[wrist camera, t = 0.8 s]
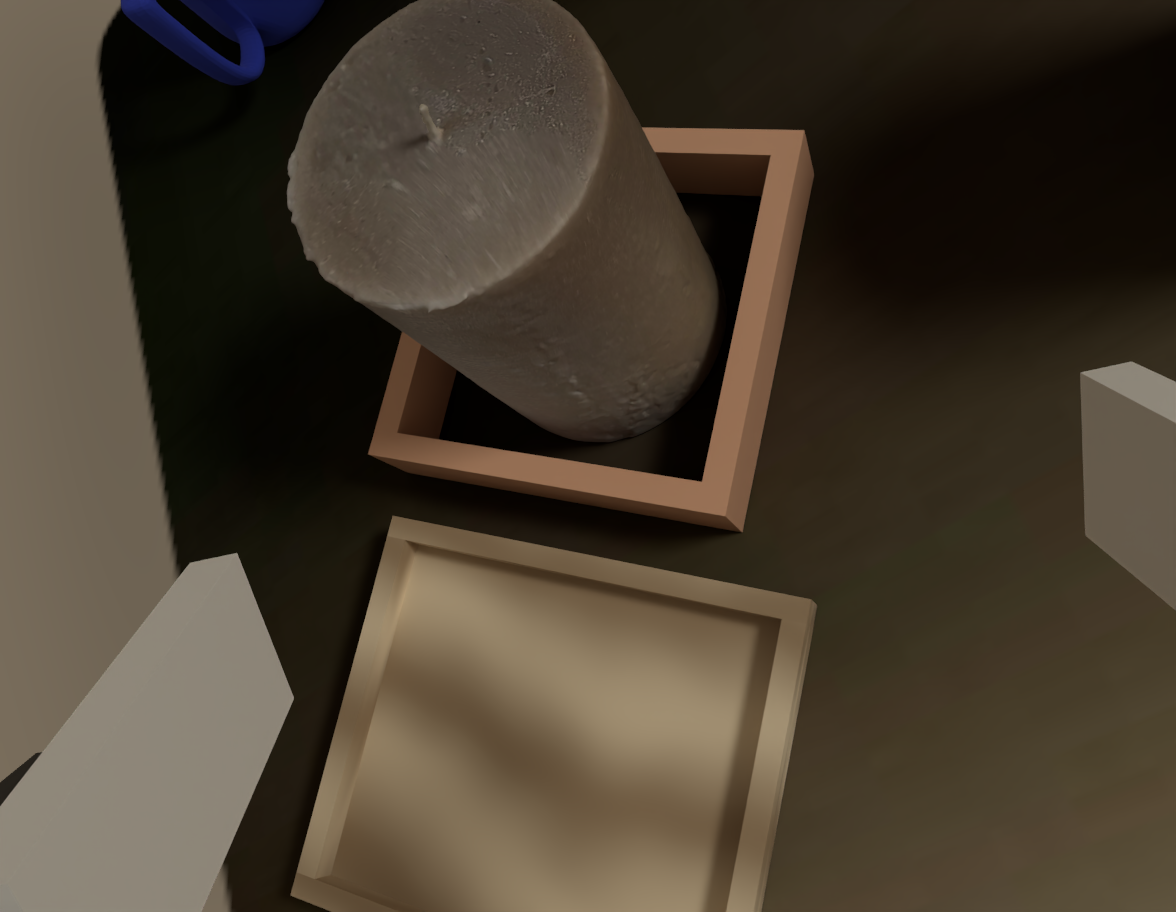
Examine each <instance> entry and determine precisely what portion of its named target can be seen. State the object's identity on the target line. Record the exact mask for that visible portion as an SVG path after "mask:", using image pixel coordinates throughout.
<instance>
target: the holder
mask: <svg viewBox="0 0 1176 912" xmlns="http://www.w3.org/2000/svg"><path fill="white" fill-rule="evenodd" d="M642 129H643V131H644V133H645V135H646V137H647V139H648V141H649V143H650V145H651V146H652V148H653V150H654V151H655V153H656V155H657V157H658V159H659V161H660V163H661V165H662V167H663V169H664V171H665V173H666V175H667V177H668V179H669V181H670V183H671V185H672V186H673V188H674V190H675V192H676V193H695V194H718V195H742V196H762V199H761V204H760V209H759V214H758V218H757V223H756V228H755V232H754V237H753V242H752V247H751V251H750V256H749V261H748V266H747V270H746V275H745V280H744V285H743V289H742V294H741V299H740V304H739V308H738V313H737V318H736V323H735V327H734V332H733V337H732V342H731V346H730V351H729V356H728V361H727V365H726V370H725V375H724V380H723V384H722V389H721V394H720V399H719V403H718V408H717V413H716V417H715V422H714V427H713V432H712V436H711V441H710V446H709V451H708V455H707V460H706V465H705V470H704V474H703V479H702V482H700V481H693V480H687V479H681V478H675V477H669V476H662V475H656V474H650V473H644V472H637V471H631V470H625V469H619V468H613V467H606V466H600V465H594V464H588V463H582V462H575V461H569V460H563V459H557V458H550V457H544V456H538V455H532V454H526V453H519V452H513V451H507V450H501V449H494V448H488V447H482V446H476V445H470V444H463V443H457V442H451V441H445V440H439V436H440V432H441V429H442V425H443V421H444V417H445V413H446V410H447V406H448V402H449V398H450V395H451V391H452V387H453V383H454V379H455V376H456V372H457V369H455V368H454V367H452V366H451V365H449V364H448V363H447V362H445V361H444V360H442V359H441V358H439V357H438V356H437V355H435V354H434V353H432V352H431V351H429V350H428V349H427V348H425V347H424V346H422V345H421V344H419V343H418V342H416V341H415V340H414V339H412V338H411V337H410V336H408V335H407V334H405V333H404V332H402V334H401V338H400V341H399V345H398V348H397V352H396V356H395V359H394V363H393V366H392V370H391V374H390V377H389V381H388V384H387V388H386V392H385V395H384V399H383V402H382V406H381V410H380V413H379V417H378V420H377V424H376V428H375V431H374V435H373V438H372V442H371V446H370V449H369V453H368V455H371V456H373V457H375V458H377V459H379V460H381V461H384V462H386V463H388V464H390V465H392V466H394V467H397V468H399V469H401V470H403V471H405V472H407V473H412V474H418V475H423V476H429V477H435V478H440V479H446V480H451V481H457V482H463V483H468V484H474V485H479V486H485V487H491V488H496V489H502V490H507V491H513V492H519V493H524V494H530V495H535V496H541V497H547V498H552V499H558V500H563V501H569V502H575V503H580V504H586V505H591V506H597V507H603V508H608V509H614V510H619V511H625V512H631V513H636V514H642V515H647V516H653V517H659V518H664V519H670V520H675V521H681V522H687V523H692V524H698V525H703V526H709V527H715V528H720V529H726V530H731V531H737V532H743V527H744V522H745V517H746V512H747V507H748V502H749V497H750V492H751V487H752V482H753V477H754V472H755V467H756V462H757V457H758V452H759V447H760V442H761V437H762V432H763V427H764V422H765V417H766V412H767V407H768V402H769V397H770V392H771V387H772V382H773V377H774V372H775V367H776V362H777V357H778V352H779V347H780V343H781V338H782V333H783V328H784V323H785V318H786V313H787V308H788V303H789V298H790V293H791V288H792V283H793V278H794V273H795V268H796V263H797V258H798V253H799V248H800V243H801V238H802V233H803V228H804V223H805V218H806V213H807V208H808V203H809V198H810V193H811V188H812V183H813V178H814V171H813V167H812V162H811V158H810V153H809V149H808V144H807V140H806V135H805V131H804V130H760V129H696V128H642Z"/></svg>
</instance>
